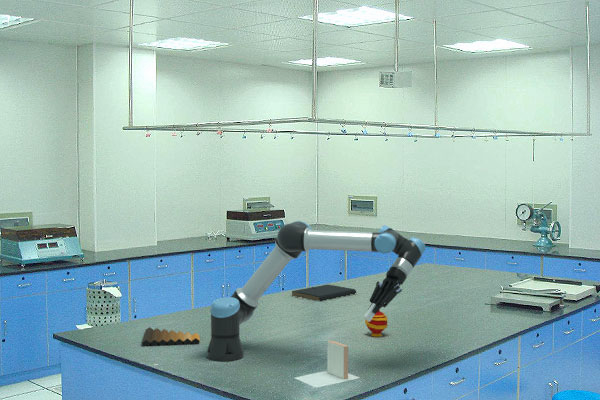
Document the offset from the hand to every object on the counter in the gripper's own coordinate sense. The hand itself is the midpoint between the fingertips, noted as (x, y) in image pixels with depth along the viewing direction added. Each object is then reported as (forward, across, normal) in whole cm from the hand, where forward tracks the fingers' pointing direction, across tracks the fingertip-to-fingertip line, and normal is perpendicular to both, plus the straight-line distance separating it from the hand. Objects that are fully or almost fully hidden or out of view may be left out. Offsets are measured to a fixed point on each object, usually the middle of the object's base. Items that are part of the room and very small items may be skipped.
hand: (366, 319), depth 259 cm
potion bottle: (-14, +40, -42) cm, 60 cm away
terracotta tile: (+24, 0, -4) cm, 24 cm away
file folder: (-43, +136, -72) cm, 160 cm away
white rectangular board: (+28, 0, -1) cm, 28 cm away
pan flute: (+43, +90, +14) cm, 100 cm away
